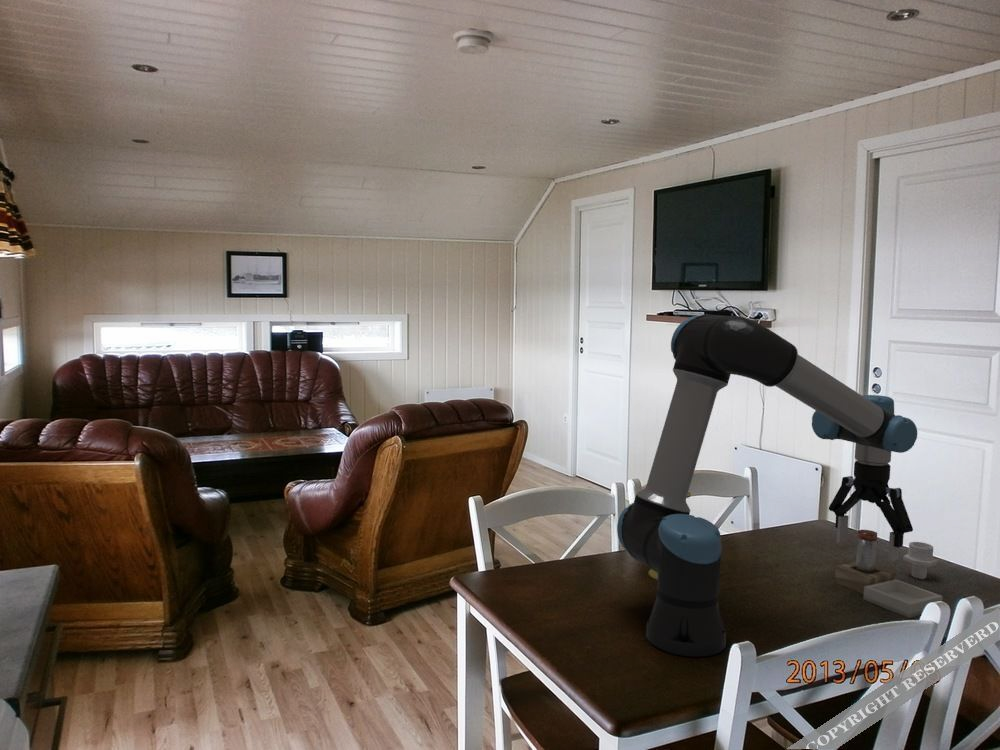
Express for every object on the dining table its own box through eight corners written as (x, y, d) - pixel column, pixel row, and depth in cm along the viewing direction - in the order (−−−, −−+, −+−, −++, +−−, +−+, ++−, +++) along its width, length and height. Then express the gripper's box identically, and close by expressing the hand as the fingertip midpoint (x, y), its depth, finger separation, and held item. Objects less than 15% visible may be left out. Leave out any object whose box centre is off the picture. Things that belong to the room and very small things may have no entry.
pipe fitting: (898, 575, 183) (900, 544, 182) (912, 570, 187) (914, 539, 187) (925, 583, 178) (928, 551, 177) (939, 577, 182) (941, 545, 182)
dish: (909, 618, 158) (910, 604, 158) (863, 599, 168) (864, 586, 167) (941, 609, 163) (942, 596, 163) (895, 591, 173) (896, 579, 172)
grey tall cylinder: (865, 590, 173) (869, 535, 172) (850, 584, 177) (854, 530, 176) (877, 587, 175) (881, 533, 174) (862, 581, 179) (865, 528, 177)
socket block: (868, 595, 170) (869, 578, 170) (834, 582, 178) (835, 566, 178) (894, 589, 174) (895, 572, 174) (860, 576, 182) (861, 560, 182)
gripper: (934, 471, 164) (927, 565, 166) (837, 450, 186) (832, 533, 188) (912, 474, 160) (905, 570, 162) (816, 453, 183) (811, 537, 185)
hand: (866, 551), depth 175 cm, fingers open, 13 cm apart
